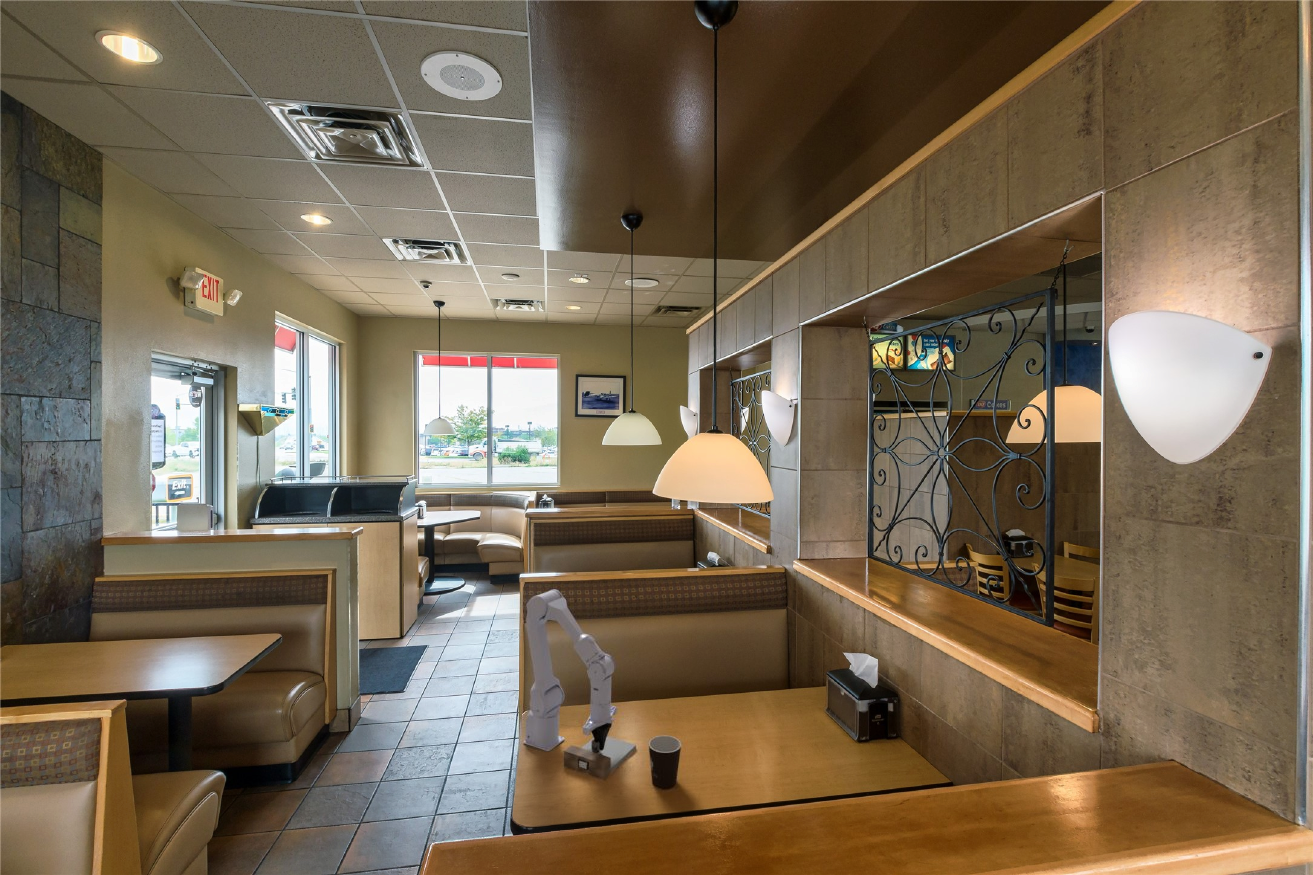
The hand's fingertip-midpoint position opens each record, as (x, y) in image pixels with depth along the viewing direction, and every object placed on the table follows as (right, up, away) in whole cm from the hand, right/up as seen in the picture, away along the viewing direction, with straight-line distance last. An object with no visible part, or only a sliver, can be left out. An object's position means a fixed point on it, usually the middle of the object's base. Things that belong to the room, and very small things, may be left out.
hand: (599, 749), depth 157 cm
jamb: (-3, -2, -6) cm, 7 cm away
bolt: (-2, -1, -4) cm, 5 cm away
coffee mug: (+18, -3, -9) cm, 21 cm away
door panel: (+1, -3, +2) cm, 4 cm away
